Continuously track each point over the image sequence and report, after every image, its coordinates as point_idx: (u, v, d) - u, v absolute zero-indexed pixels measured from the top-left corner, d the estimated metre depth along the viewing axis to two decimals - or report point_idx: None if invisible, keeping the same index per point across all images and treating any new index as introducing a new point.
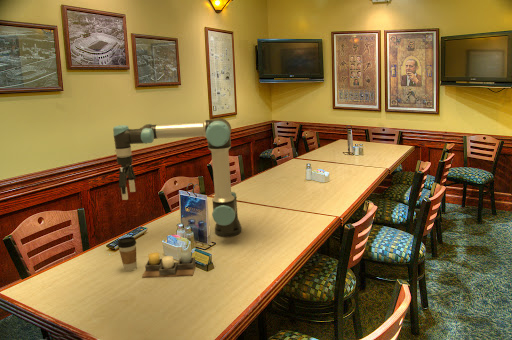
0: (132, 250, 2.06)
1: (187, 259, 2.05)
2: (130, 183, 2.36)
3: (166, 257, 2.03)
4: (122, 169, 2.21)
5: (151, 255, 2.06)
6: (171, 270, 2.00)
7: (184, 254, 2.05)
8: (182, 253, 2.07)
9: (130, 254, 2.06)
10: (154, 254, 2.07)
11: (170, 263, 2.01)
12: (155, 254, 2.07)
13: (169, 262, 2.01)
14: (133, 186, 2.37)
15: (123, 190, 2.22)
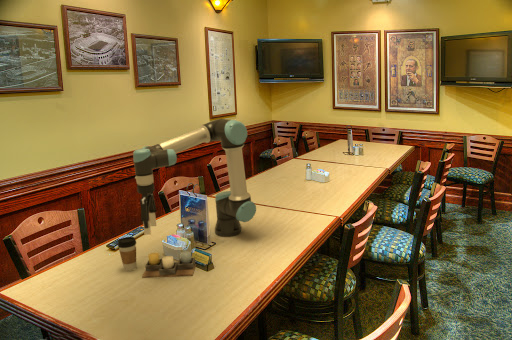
0: (132, 250, 2.06)
1: (187, 259, 2.05)
2: (150, 216, 2.08)
3: (166, 257, 2.03)
4: (144, 201, 1.94)
5: (151, 255, 2.06)
6: (171, 270, 2.00)
7: (184, 254, 2.05)
8: (182, 253, 2.07)
9: (130, 254, 2.06)
10: (154, 254, 2.07)
11: (170, 263, 2.01)
12: (155, 254, 2.07)
13: (169, 262, 2.01)
14: (154, 220, 2.08)
15: (146, 224, 1.96)
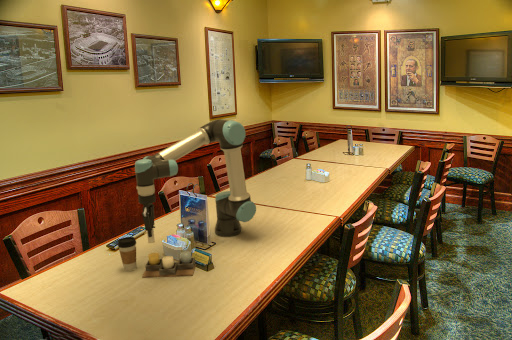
0: (132, 250, 2.06)
1: (187, 259, 2.05)
2: None
3: (166, 257, 2.03)
4: (146, 214, 1.96)
5: (151, 255, 2.06)
6: (171, 270, 2.00)
7: (184, 254, 2.05)
8: (182, 253, 2.07)
9: (130, 254, 2.06)
10: (154, 254, 2.07)
11: (170, 263, 2.01)
12: (155, 254, 2.07)
13: (169, 262, 2.01)
14: None
15: (149, 233, 2.02)
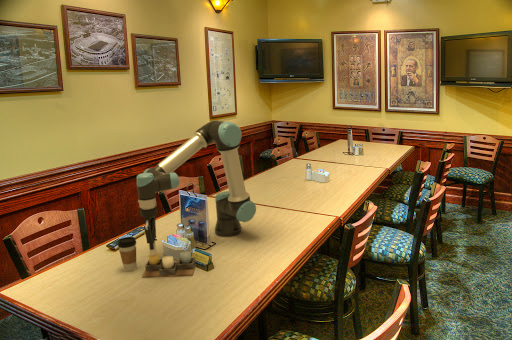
0: (132, 250, 2.06)
1: (187, 259, 2.05)
2: None
3: (166, 257, 2.03)
4: (147, 228, 1.97)
5: (151, 256, 2.06)
6: (171, 270, 2.00)
7: (184, 254, 2.05)
8: (182, 253, 2.07)
9: (130, 254, 2.06)
10: None
11: (170, 263, 2.01)
12: None
13: (169, 262, 2.01)
14: None
15: (151, 246, 2.04)
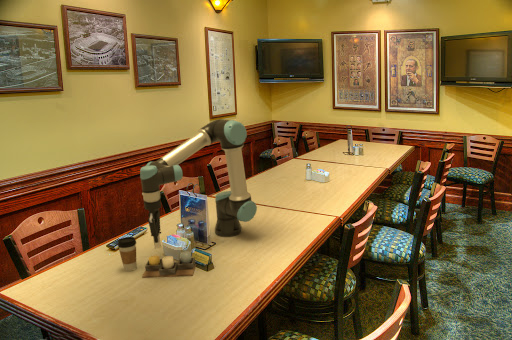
0: (132, 250, 2.06)
1: (187, 259, 2.05)
2: None
3: (166, 257, 2.03)
4: (151, 221, 1.97)
5: (151, 258, 2.07)
6: (171, 270, 2.00)
7: (184, 254, 2.05)
8: (182, 253, 2.07)
9: (130, 254, 2.06)
10: (154, 257, 2.08)
11: (170, 263, 2.01)
12: (155, 257, 2.08)
13: (169, 262, 2.01)
14: None
15: (156, 239, 2.03)
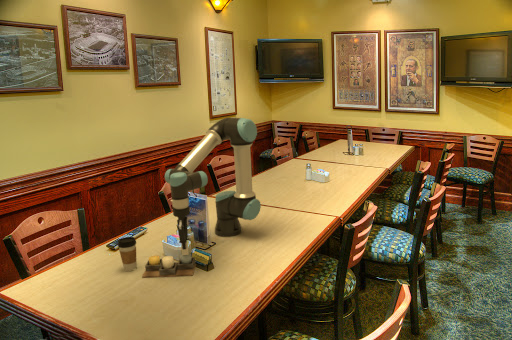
0: (132, 250, 2.06)
1: (187, 260, 2.05)
2: None
3: (166, 257, 2.03)
4: (181, 227, 1.97)
5: (151, 258, 2.07)
6: (171, 270, 2.00)
7: (184, 256, 2.06)
8: (182, 255, 2.07)
9: (130, 254, 2.06)
10: (154, 257, 2.08)
11: (170, 263, 2.01)
12: (155, 257, 2.08)
13: (169, 262, 2.01)
14: None
15: (184, 245, 2.04)
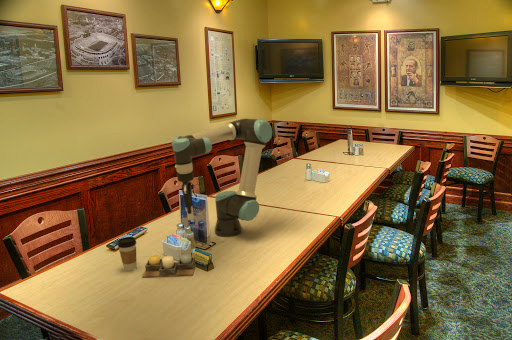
0: (132, 250, 2.06)
1: (187, 262, 2.05)
2: None
3: (166, 257, 2.03)
4: (186, 192, 2.02)
5: (151, 258, 2.07)
6: (171, 270, 2.00)
7: (184, 257, 2.06)
8: (182, 256, 2.07)
9: (130, 254, 2.06)
10: (154, 257, 2.08)
11: (170, 263, 2.01)
12: (155, 257, 2.08)
13: (169, 262, 2.01)
14: None
15: (189, 210, 2.09)
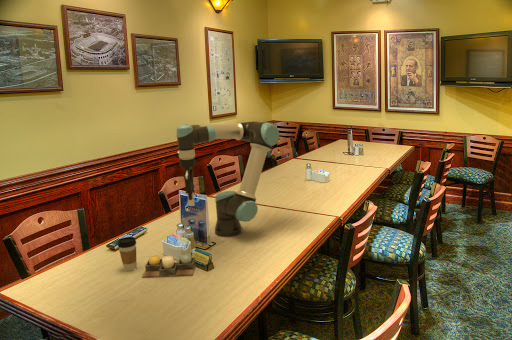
0: (132, 250, 2.06)
1: (187, 262, 2.05)
2: None
3: (166, 257, 2.03)
4: (187, 177, 2.05)
5: (151, 258, 2.07)
6: (171, 270, 2.00)
7: (184, 257, 2.06)
8: (182, 256, 2.07)
9: (130, 254, 2.06)
10: (154, 257, 2.08)
11: (170, 263, 2.01)
12: (155, 257, 2.08)
13: (169, 262, 2.01)
14: None
15: (190, 196, 2.11)
